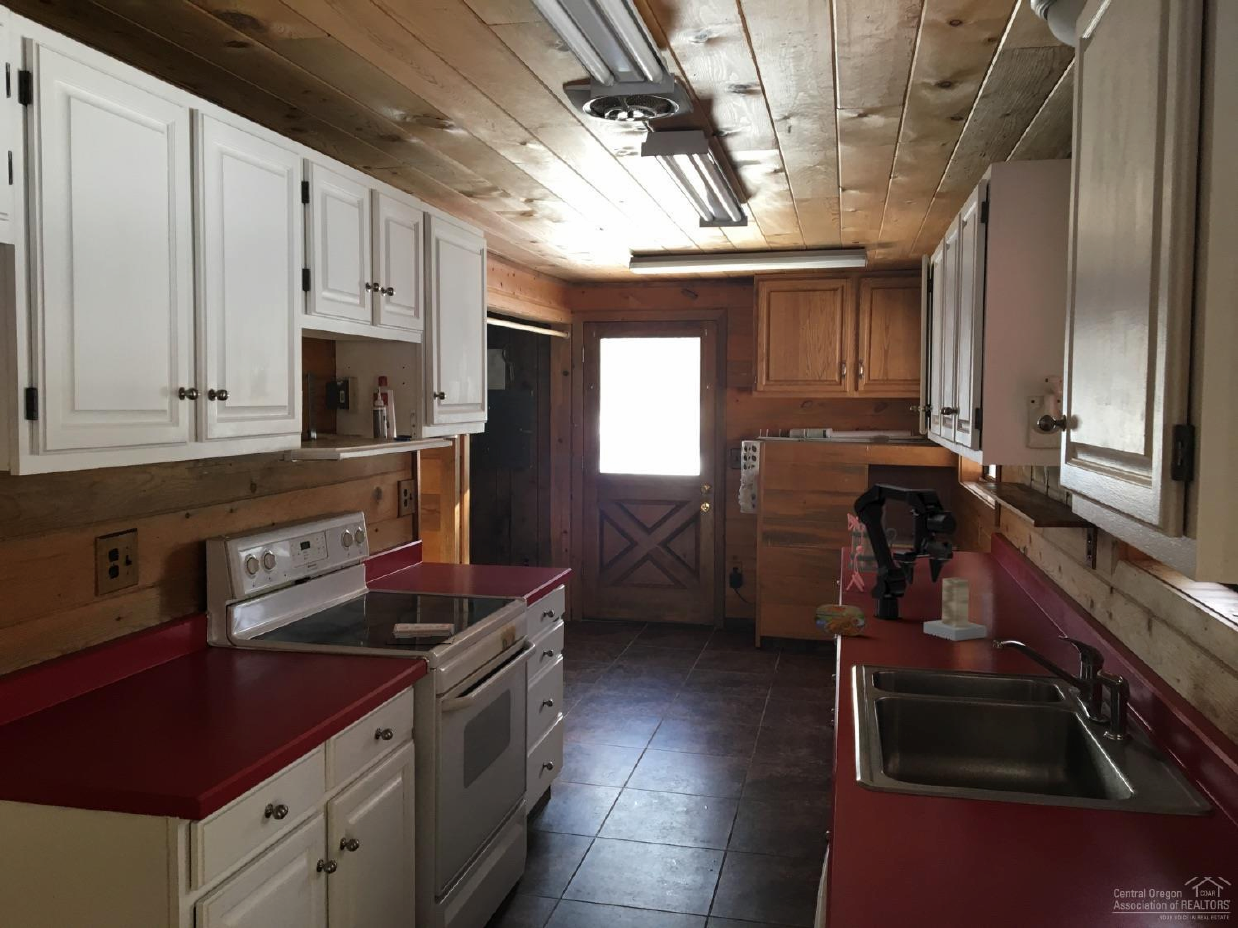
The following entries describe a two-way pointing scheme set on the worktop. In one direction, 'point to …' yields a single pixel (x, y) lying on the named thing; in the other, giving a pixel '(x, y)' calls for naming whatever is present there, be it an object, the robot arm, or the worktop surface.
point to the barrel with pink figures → (858, 549)
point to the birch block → (955, 601)
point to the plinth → (955, 630)
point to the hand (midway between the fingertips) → (922, 583)
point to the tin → (840, 620)
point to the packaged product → (422, 630)
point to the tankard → (866, 550)
